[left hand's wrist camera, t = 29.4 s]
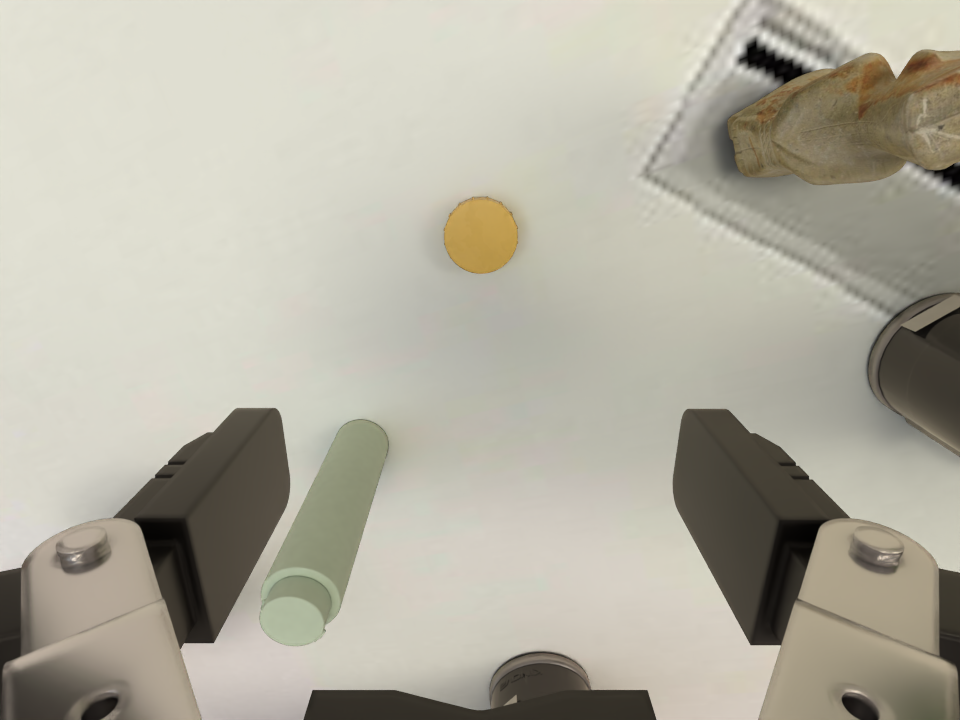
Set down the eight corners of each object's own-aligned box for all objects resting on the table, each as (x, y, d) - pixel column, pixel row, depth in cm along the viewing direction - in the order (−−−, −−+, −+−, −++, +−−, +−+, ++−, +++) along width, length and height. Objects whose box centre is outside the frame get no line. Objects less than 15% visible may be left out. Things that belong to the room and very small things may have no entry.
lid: (516, 268, 38) (518, 273, 37) (446, 269, 38) (445, 275, 37) (516, 195, 37) (518, 197, 35) (443, 197, 37) (441, 199, 35)
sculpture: (837, 152, 36) (1069, 157, 22) (725, 193, 36) (877, 223, 22) (825, 55, 34) (1071, -9, 20) (706, 100, 35) (860, 71, 21)
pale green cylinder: (326, 448, 44) (235, 631, 27) (352, 410, 42) (272, 576, 26) (371, 474, 44) (309, 665, 28) (398, 436, 43) (349, 614, 27)
